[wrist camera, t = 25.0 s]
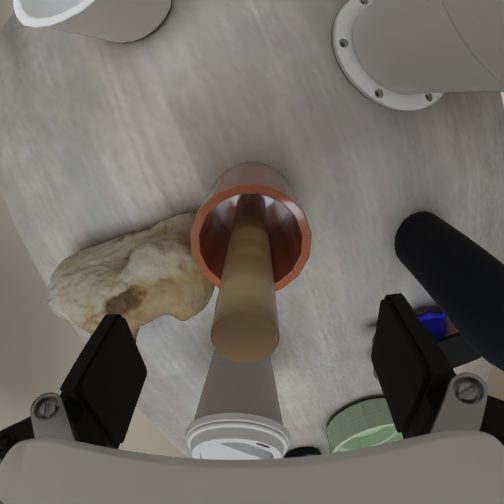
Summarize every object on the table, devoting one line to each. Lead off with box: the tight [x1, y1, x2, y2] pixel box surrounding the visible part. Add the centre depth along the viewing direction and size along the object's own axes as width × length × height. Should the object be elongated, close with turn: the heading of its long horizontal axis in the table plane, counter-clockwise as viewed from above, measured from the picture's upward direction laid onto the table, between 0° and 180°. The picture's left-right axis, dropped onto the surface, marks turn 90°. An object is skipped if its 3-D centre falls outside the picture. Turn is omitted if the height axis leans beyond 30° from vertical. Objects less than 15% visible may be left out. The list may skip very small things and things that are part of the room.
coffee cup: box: [185, 349, 290, 460], centre depth 29 cm, size 10×10×15 cm
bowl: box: [327, 398, 403, 453], centre depth 40 cm, size 13×13×6 cm
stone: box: [48, 213, 214, 343], centre depth 26 cm, size 17×12×10 cm
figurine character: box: [372, 311, 481, 380], centre depth 31 cm, size 7×8×15 cm
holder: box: [190, 162, 312, 291], centre depth 24 cm, size 8×8×10 cm
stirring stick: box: [211, 194, 279, 362], centre depth 19 cm, size 3×3×18 cm
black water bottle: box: [395, 212, 504, 371], centre depth 16 cm, size 6×6×30 cm
